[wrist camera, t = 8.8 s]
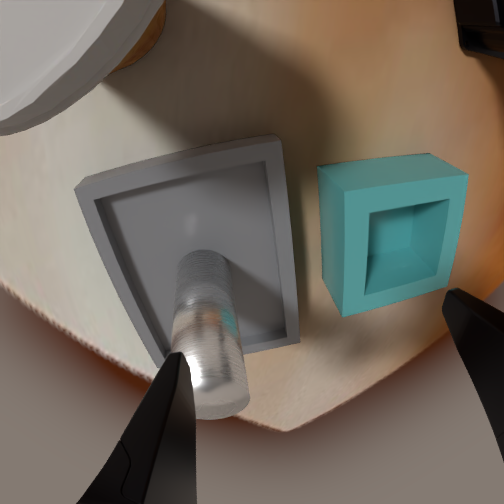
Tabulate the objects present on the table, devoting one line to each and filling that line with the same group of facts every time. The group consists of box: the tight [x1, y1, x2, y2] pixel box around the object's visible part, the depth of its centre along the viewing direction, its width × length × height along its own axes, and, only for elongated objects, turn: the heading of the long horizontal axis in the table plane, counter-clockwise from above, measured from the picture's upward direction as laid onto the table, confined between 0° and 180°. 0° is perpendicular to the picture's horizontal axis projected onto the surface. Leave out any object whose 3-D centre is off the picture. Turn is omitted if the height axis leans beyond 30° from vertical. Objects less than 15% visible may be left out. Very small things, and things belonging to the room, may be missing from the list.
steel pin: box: [171, 249, 250, 420], centre depth 17 cm, size 4×4×10 cm
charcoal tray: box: [74, 134, 300, 368], centre depth 21 cm, size 12×16×2 cm
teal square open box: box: [317, 153, 469, 317], centre depth 20 cm, size 9×9×4 cm
